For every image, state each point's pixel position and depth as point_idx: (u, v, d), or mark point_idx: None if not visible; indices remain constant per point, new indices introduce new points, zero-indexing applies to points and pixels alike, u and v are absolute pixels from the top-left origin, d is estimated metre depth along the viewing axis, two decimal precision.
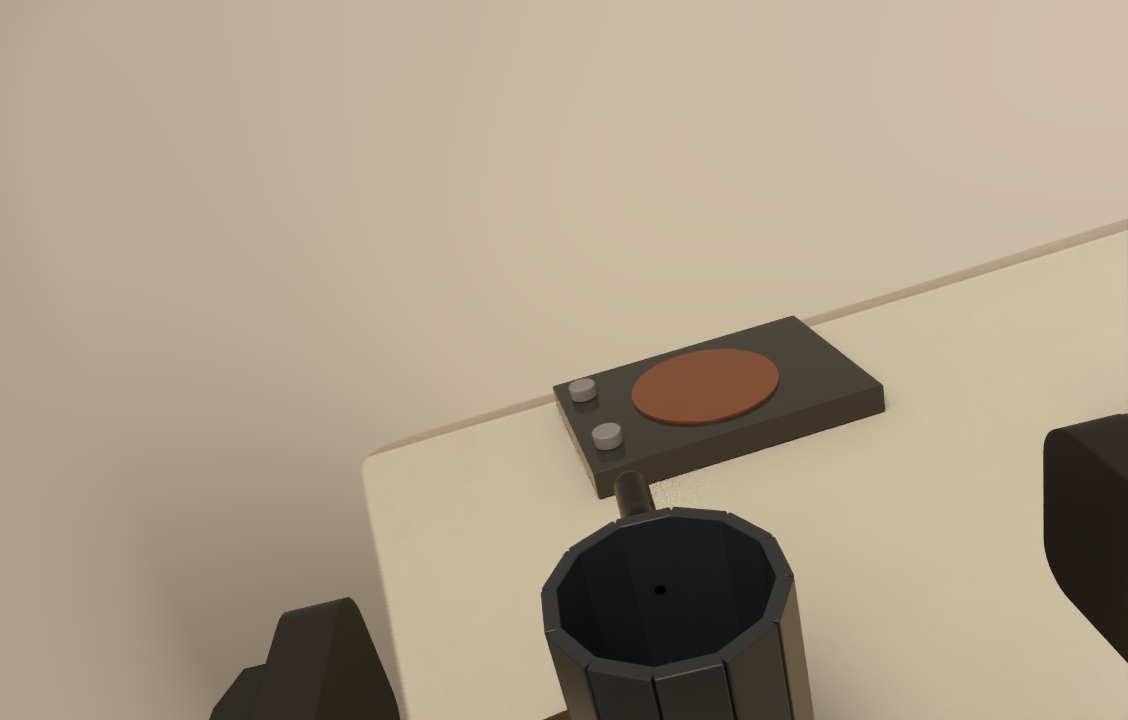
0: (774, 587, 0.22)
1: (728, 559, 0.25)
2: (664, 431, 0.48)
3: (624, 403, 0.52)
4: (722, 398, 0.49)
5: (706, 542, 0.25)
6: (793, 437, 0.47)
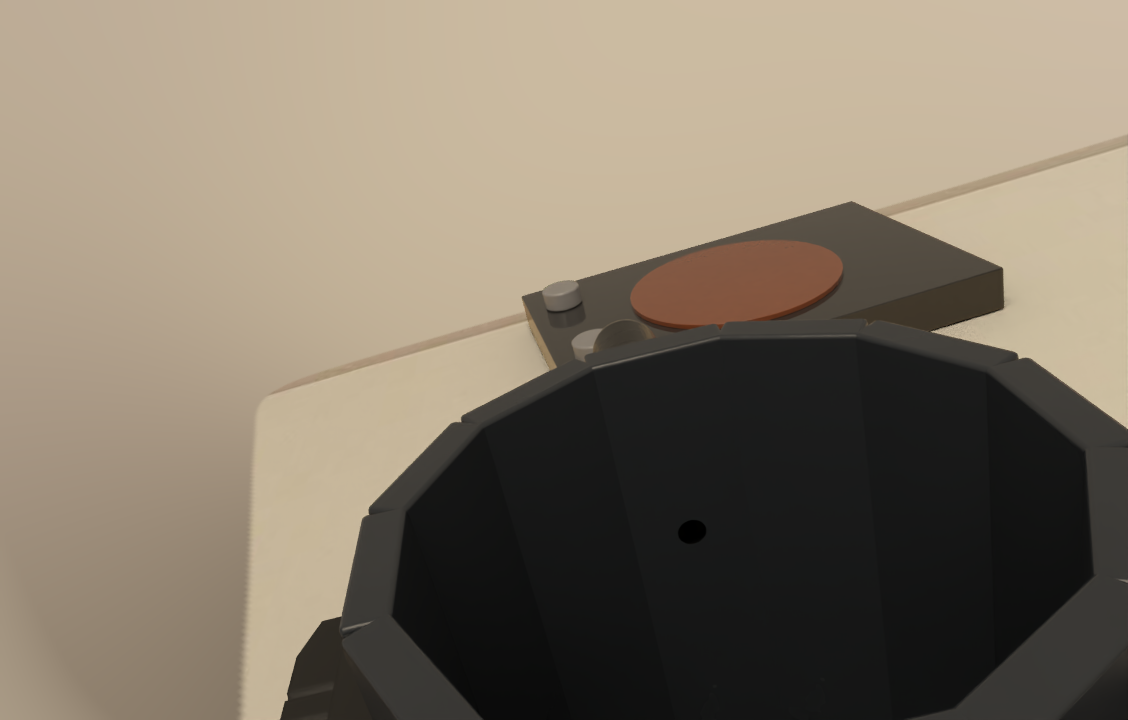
0: (1096, 480, 0.07)
1: (870, 445, 0.10)
2: None
3: (620, 310, 0.36)
4: (761, 294, 0.34)
5: (812, 403, 0.10)
6: None
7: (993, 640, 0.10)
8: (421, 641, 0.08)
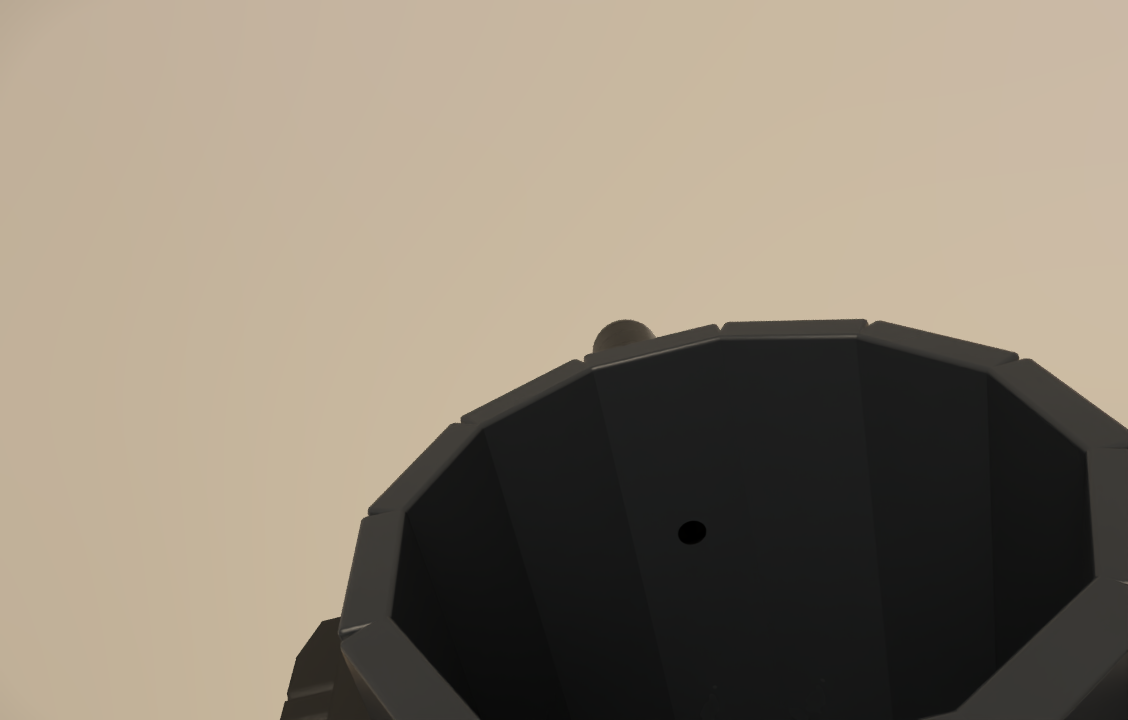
0: (1097, 482, 0.07)
1: (870, 446, 0.10)
2: None
3: None
4: None
5: (812, 404, 0.10)
6: None
7: (994, 640, 0.10)
8: (420, 643, 0.08)
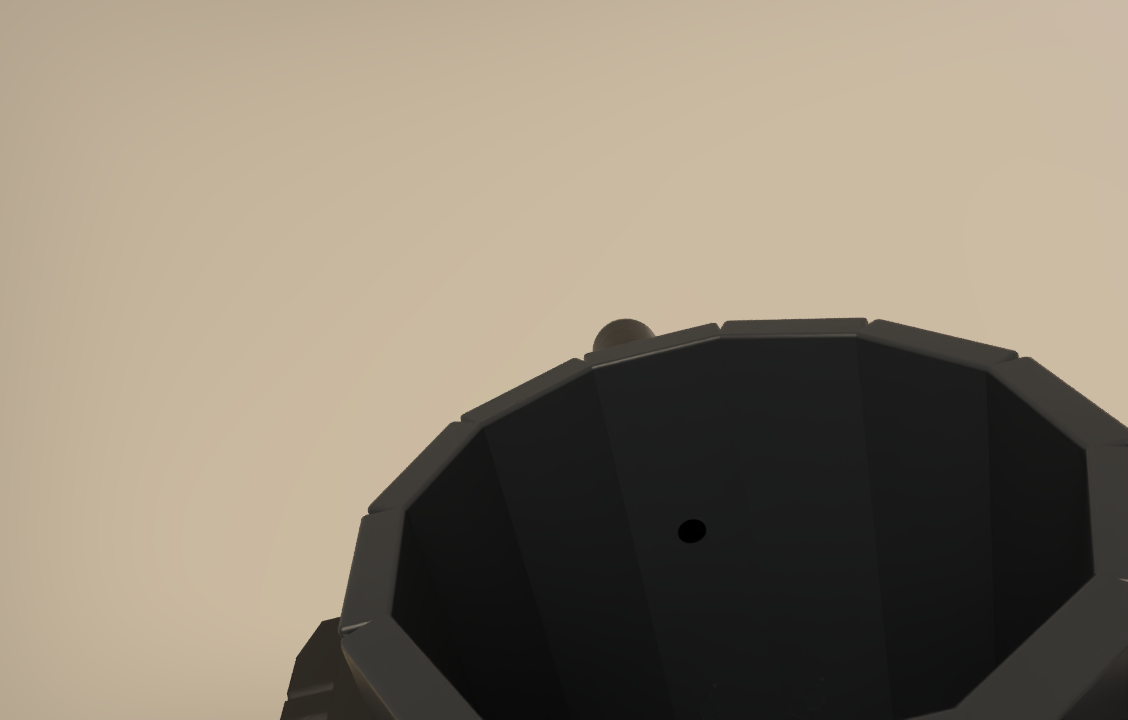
0: (1096, 479, 0.07)
1: (870, 444, 0.10)
2: None
3: None
4: None
5: (812, 402, 0.10)
6: None
7: (994, 639, 0.10)
8: (420, 640, 0.08)
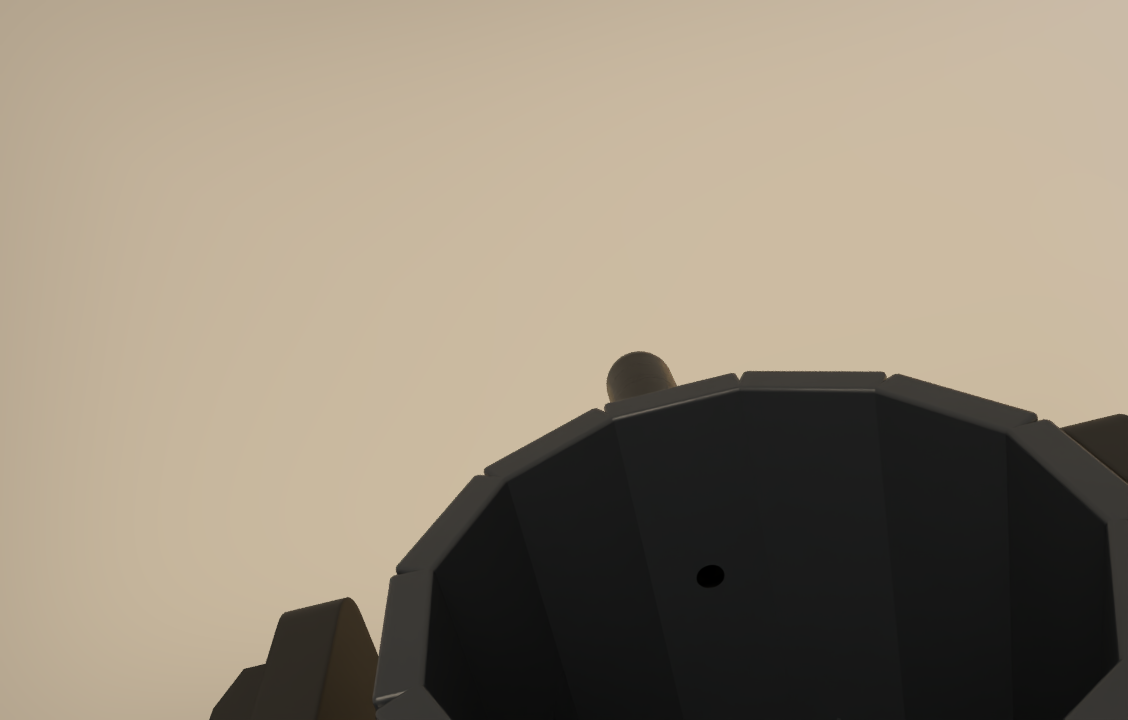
0: (1118, 555, 0.07)
1: (888, 496, 0.10)
2: None
3: None
4: None
5: (831, 454, 0.10)
6: None
7: (1012, 689, 0.10)
8: (450, 704, 0.08)
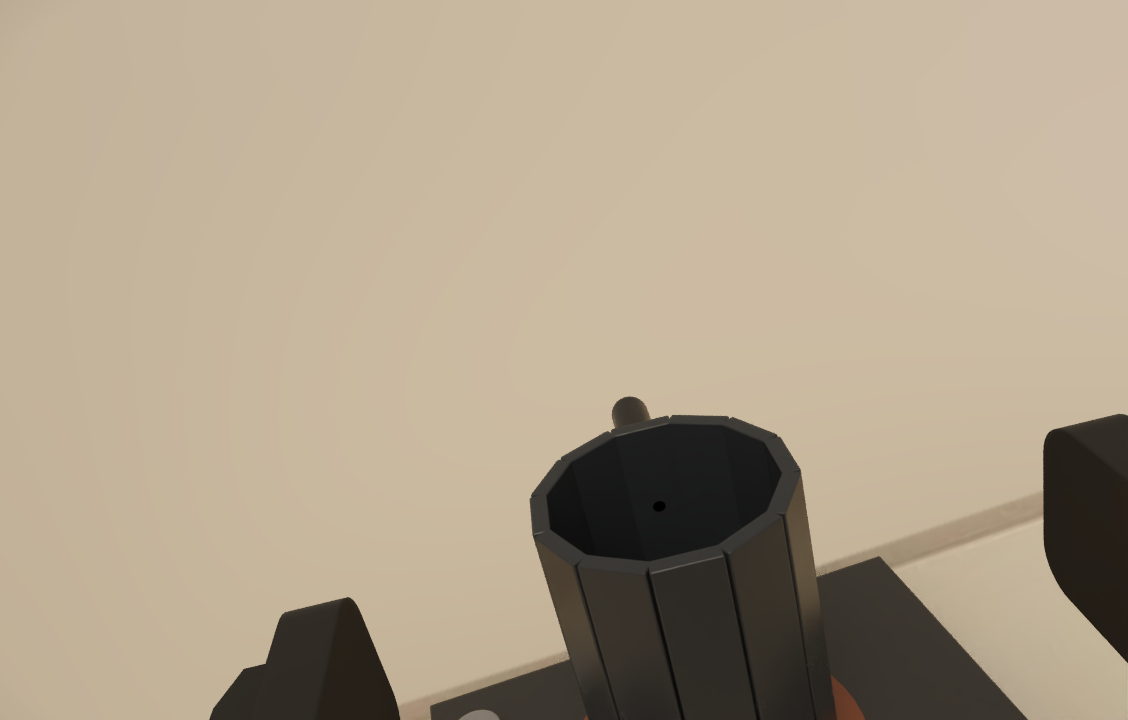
0: (779, 482, 0.20)
1: (731, 468, 0.24)
2: None
3: None
4: None
5: (707, 451, 0.24)
6: None
7: None
8: None
